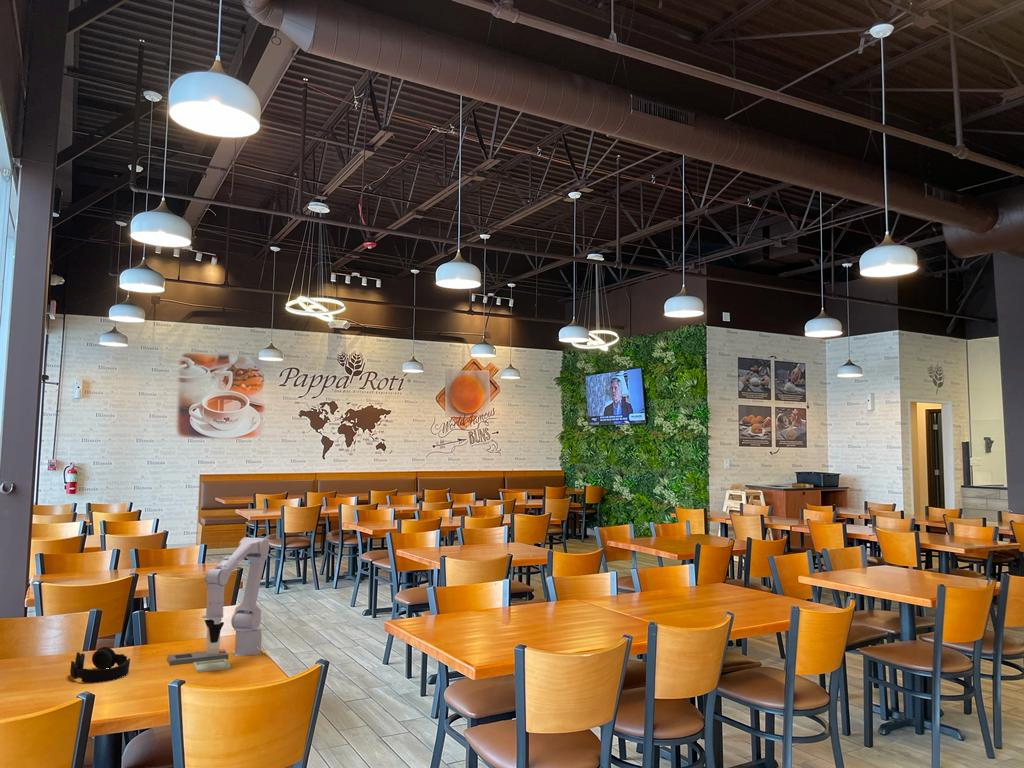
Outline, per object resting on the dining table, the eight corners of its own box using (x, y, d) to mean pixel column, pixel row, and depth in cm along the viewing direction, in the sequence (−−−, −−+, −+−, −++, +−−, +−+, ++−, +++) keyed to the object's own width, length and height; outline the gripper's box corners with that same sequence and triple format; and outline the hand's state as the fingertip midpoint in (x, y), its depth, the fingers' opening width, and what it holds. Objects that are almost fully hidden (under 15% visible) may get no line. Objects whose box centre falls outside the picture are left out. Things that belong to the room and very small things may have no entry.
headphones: (110, 641, 270) (141, 656, 259) (107, 663, 269) (138, 679, 259) (59, 652, 255) (90, 668, 244) (56, 675, 254) (87, 692, 244)
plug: (217, 644, 270) (219, 620, 271) (219, 647, 267) (220, 622, 268) (205, 646, 268) (207, 621, 269) (207, 648, 265) (208, 623, 266)
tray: (225, 662, 274) (225, 658, 274) (230, 669, 265) (230, 666, 265) (193, 665, 269) (193, 662, 269) (197, 673, 259) (197, 669, 260)
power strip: (224, 654, 285) (225, 631, 286) (228, 659, 278) (229, 636, 279) (167, 660, 276) (168, 636, 276) (169, 666, 268) (171, 641, 269)
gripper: (200, 600, 274) (198, 638, 272) (206, 606, 261) (204, 646, 260) (220, 598, 277) (218, 636, 276) (227, 605, 265) (225, 644, 263)
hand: (213, 641), depth 268 cm, fingers closed on plug, 4 cm apart
